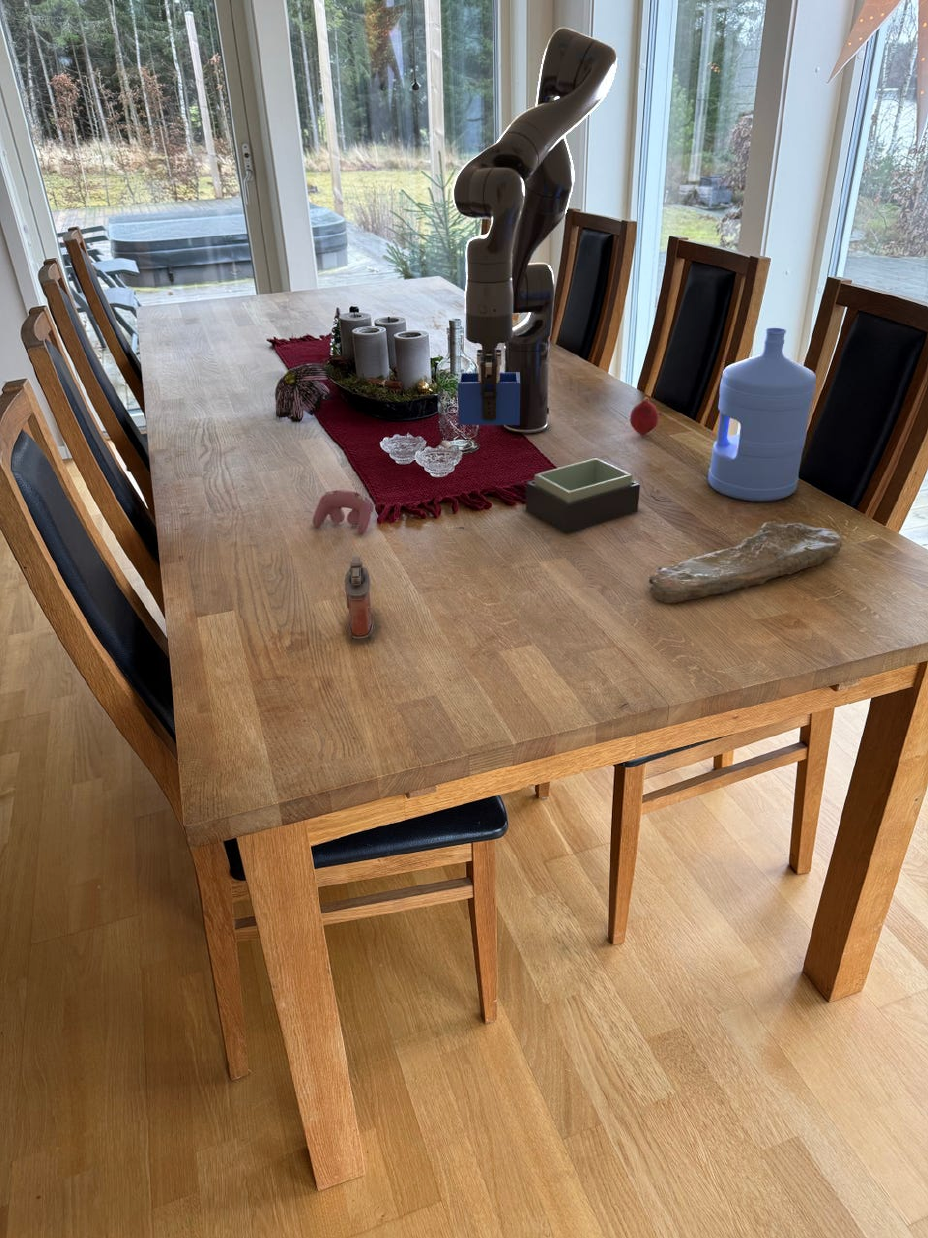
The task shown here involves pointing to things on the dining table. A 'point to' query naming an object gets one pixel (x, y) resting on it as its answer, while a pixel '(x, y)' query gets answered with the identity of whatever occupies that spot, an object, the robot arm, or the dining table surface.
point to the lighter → (359, 602)
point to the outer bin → (581, 507)
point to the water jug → (762, 424)
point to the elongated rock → (746, 562)
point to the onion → (644, 417)
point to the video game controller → (344, 499)
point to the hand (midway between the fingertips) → (489, 412)
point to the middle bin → (582, 480)
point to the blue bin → (504, 402)
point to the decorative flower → (301, 391)
